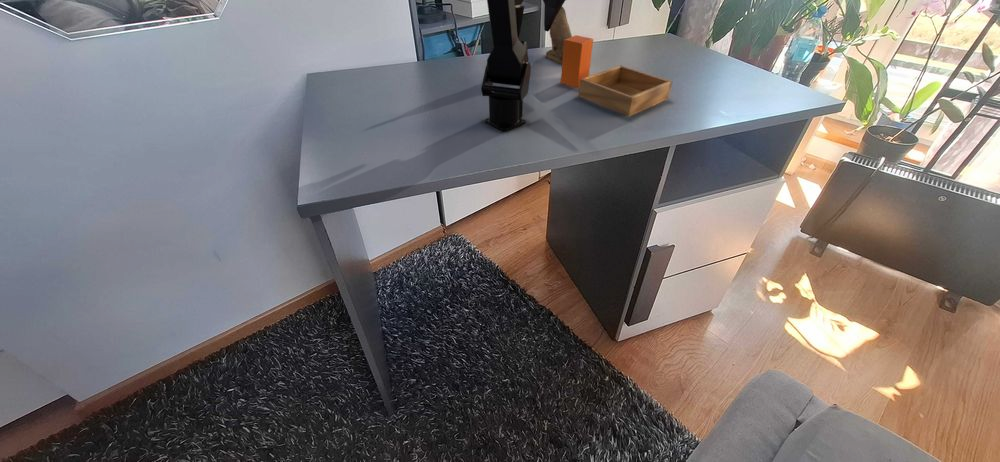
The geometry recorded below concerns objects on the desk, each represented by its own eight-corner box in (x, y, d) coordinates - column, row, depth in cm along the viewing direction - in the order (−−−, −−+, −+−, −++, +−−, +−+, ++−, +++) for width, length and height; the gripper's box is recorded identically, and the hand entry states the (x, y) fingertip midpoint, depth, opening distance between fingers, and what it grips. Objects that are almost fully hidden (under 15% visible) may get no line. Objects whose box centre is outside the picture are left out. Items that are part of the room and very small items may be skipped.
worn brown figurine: (544, 65, 124) (540, -3, 115) (559, 62, 126) (556, -6, 117) (568, 68, 115) (565, -6, 106) (584, 64, 116) (582, -9, 108)
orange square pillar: (576, 90, 102) (582, 43, 95) (560, 85, 105) (564, 39, 97) (587, 84, 105) (593, 38, 98) (571, 80, 107) (575, 35, 100)
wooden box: (627, 119, 89) (632, 98, 86) (577, 99, 98) (580, 78, 95) (667, 102, 96) (672, 81, 93) (617, 84, 105) (620, 65, 102)
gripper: (541, -55, 93) (537, 21, 103) (474, -48, 84) (477, 34, 94) (577, -51, 86) (570, 30, 96) (509, -42, 77) (509, 45, 87)
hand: (531, 34), depth 94 cm, fingers open, 9 cm apart
